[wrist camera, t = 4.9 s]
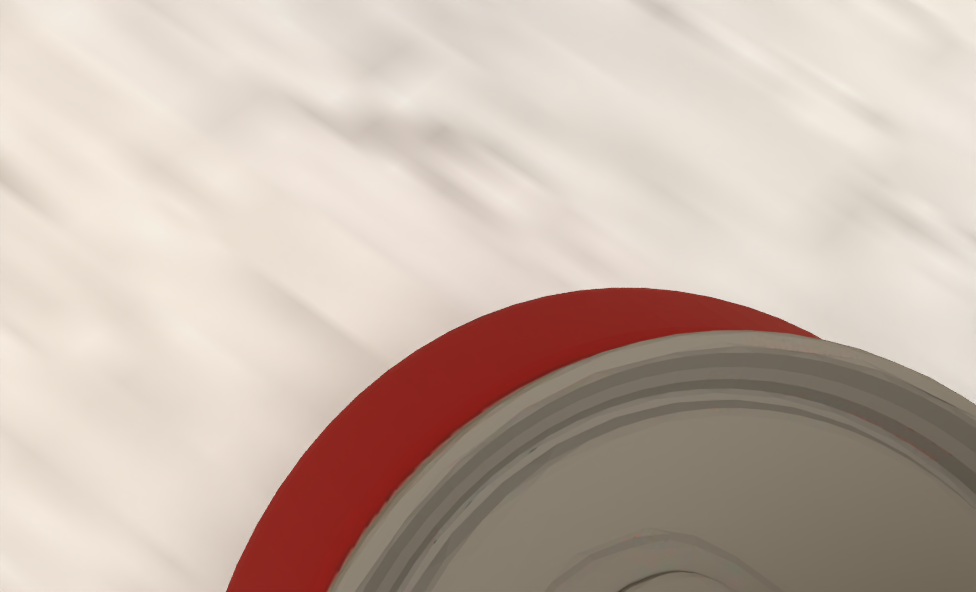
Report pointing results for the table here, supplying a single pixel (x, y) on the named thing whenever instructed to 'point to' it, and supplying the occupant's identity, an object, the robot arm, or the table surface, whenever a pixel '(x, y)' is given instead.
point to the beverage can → (630, 463)
